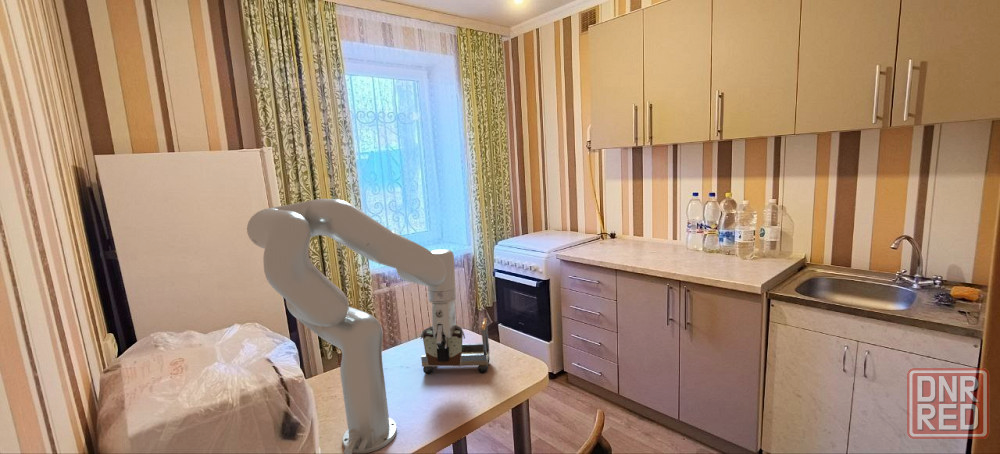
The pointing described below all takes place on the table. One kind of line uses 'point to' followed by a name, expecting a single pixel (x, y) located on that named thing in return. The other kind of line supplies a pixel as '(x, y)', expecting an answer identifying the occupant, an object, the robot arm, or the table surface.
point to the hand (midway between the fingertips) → (445, 355)
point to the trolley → (470, 353)
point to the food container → (452, 343)
